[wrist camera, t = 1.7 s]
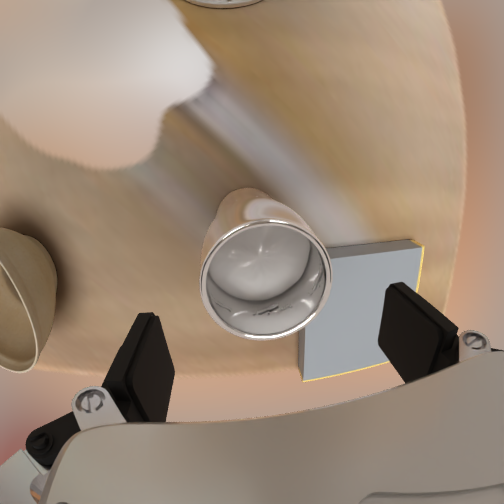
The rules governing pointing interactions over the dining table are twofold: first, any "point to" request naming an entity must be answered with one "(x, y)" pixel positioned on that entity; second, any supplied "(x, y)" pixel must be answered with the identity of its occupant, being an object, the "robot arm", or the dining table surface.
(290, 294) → the beer glass
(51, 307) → the planter bowl
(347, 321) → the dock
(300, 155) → the dining table surface
